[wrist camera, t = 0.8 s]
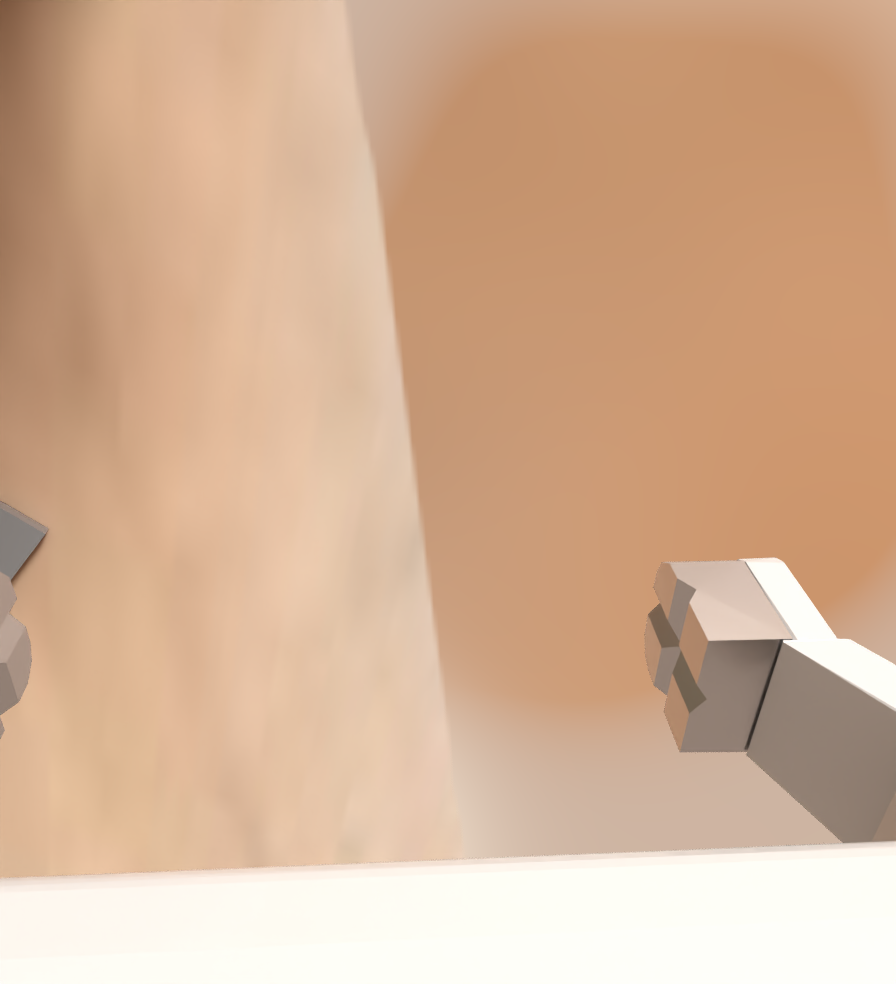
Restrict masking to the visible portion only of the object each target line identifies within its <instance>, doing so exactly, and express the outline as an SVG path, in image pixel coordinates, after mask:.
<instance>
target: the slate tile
mask: <svg viewBox="0 0 896 984" xmlns="http://www.w3.org/2000/svg"><path fill="white" fill-rule="evenodd" d="M47 531H48V528H46V527H45V526H43V525H41V524H39V523H38V522H36V521H34V520H33V519H31V518H29V517H27V516H26V515H24V514H22V513H21V512H19V511H17V510H15V509H14V508H12V507H10V506H9V505H7V504H5V503H3V502H2V501H0V572H1V573H3V574H5V575H7V576H8V577H9V578H10V580H11V579H12V578H13V577H14V575H15V574H16V573H17V571H18V570H19V569H20V567H21V566H22V565H23V563H24V562H25V561H26V559H27V558H28V557H29V555H30V554H31V553H32V551H33V550H34V549H35V547H36V546H37V545H38V543H39V542H40V541H41V539H42V538H43V537H44V535H45V534H46V532H47Z"/></svg>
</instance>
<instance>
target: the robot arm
mask: <svg viewBox="0 0 896 984" xmlns="http://www.w3.org/2000/svg"><path fill="white" fill-rule="evenodd" d="M654 590H655V592H656V594H657V596H658V599H659V601H660V603H659V605H657V607H655V608H654V609H653V610H652V611H651V612H650V613H649V614H648V618H647V624H646V630H645V657H646V661H647V666H648V671H649V673H650V676H651V679H652V682H653V685H654V686H655V687H657V688H658V689H659V690H661V691H662V692H663V693H665V694H666V695H667V699H666V704H665V708H664V713H665V716H666V719H667V721H668V724H669V726H670V729H671V731H672V734H673V736H674V739H675V741H676V744H677V746H678V749H679V751H680V752H747V756H748V757H749V758H750V759H751V760H753V761H754V762H755V763H756V764H757V765H758V766H759V767H760V768H761V769H763V771H765V772H766V773H767V774H768V775H769V776H770V777H771V778H772V779H773V780H774V781H776V782H777V783H778V784H779V785H780V786H781V787H782V788H783V789H784V790H786V791H787V792H788V793H789V794H790V795H791V796H792V797H793V798H794V799H795V800H796V801H798V802H799V803H800V804H801V805H802V806H803V807H804V808H805V809H806V810H807V811H809V812H810V813H811V814H812V815H813V816H814V817H815V818H816V819H817V820H818V821H820V822H821V823H822V824H823V825H824V826H825V827H826V828H827V829H828V830H830V831H831V832H832V833H833V834H834V835H835V836H836V837H837V838H838V839H839V840H840V841H842V842H843V843H834V844H809V845H786V846H762V847H740V848H717V849H692V850H669V851H645V852H621V853H595V854H569V855H544V856H519V857H494V858H468V859H443V860H418V861H394V862H370V863H346V864H322V865H298V866H274V867H250V868H226V869H202V870H178V871H154V872H130V873H106V874H82V875H58V876H33V877H9V878H0V984H896V665H894V664H892V663H891V662H889V661H887V660H886V659H884V658H882V657H880V656H879V655H877V654H875V653H873V652H871V651H870V650H868V649H866V648H864V647H862V646H861V645H859V644H857V643H855V642H854V641H852V640H850V639H837V637H836V636H835V635H834V633H833V632H832V630H831V629H830V628H829V626H828V625H827V623H826V622H825V620H824V619H823V618H822V616H821V615H820V613H819V612H818V611H817V609H816V608H815V606H814V605H813V603H812V602H811V600H810V599H809V598H808V596H807V595H806V593H805V592H804V591H803V589H802V588H801V586H800V585H799V583H798V582H797V580H796V579H795V578H794V576H793V575H792V573H791V572H790V571H789V569H788V568H787V566H786V565H785V563H784V562H782V561H781V560H779V559H777V558H757V559H738V560H737V561H694V562H662V563H661V565H660V567H659V569H658V571H657V574H656V578H655V583H654ZM16 600H17V597H16V594H15V592H14V589H13V586H12V583H11V580H10V578H9V577H8V576H7V575H5V574H3V573H1V572H0V715H1V714H3V713H4V712H5V711H7V710H8V709H10V708H11V707H13V706H14V705H15V704H17V703H18V702H19V701H20V699H21V696H22V694H23V692H24V690H25V688H26V686H27V684H28V678H29V673H30V667H31V662H32V658H31V645H30V640H29V636H28V633H27V629H26V627H25V626H24V625H23V624H22V623H20V622H19V621H18V620H17V619H15V618H14V617H13V616H12V615H10V614H9V612H10V610H11V608H12V606H13V605H14V603H15V601H16ZM4 731H5V730H4V727H3V724H2V721H1V718H0V738H1V736H2V734H3V732H4Z"/></svg>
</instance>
